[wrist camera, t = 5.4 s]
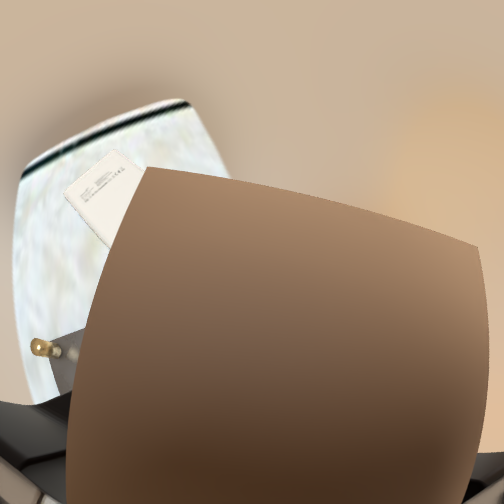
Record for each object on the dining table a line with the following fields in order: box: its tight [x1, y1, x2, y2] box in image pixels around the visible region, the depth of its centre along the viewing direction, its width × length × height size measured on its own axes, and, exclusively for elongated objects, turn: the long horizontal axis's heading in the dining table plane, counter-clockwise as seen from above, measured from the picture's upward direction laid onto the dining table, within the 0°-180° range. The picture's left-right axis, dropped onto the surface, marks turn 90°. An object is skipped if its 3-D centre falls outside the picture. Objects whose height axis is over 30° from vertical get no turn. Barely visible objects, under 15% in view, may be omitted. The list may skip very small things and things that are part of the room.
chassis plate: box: [30, 328, 85, 395], centre depth 16 cm, size 10×10×4 cm
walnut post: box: [66, 167, 489, 504], centre depth 8 cm, size 5×5×14 cm
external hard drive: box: [63, 149, 145, 249], centre depth 25 cm, size 2×8×12 cm
